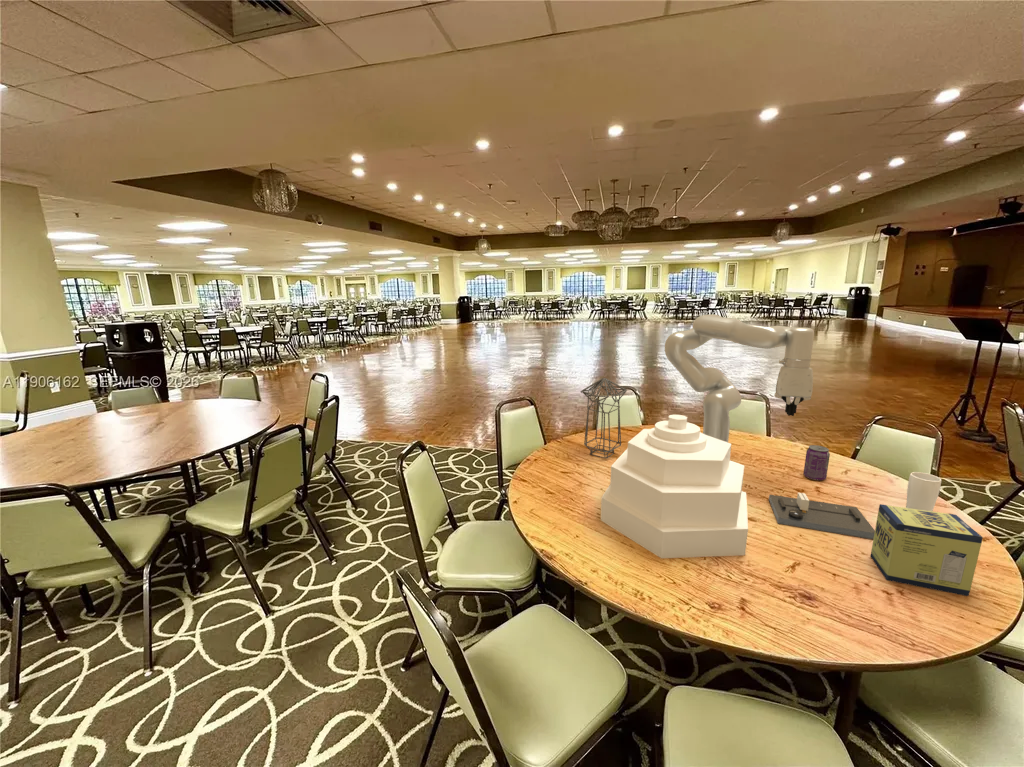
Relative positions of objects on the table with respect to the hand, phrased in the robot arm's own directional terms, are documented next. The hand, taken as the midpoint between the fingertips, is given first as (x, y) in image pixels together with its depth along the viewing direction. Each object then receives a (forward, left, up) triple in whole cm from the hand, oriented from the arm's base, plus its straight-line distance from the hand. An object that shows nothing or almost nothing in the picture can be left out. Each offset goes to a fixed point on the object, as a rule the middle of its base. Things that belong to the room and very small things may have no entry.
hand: (790, 414), depth 145 cm
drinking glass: (+33, -14, -27) cm, 45 cm away
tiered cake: (-36, -38, -28) cm, 59 cm away
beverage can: (+13, +12, -27) cm, 33 cm away
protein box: (+21, -45, -27) cm, 57 cm away
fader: (+2, -21, -25) cm, 32 cm away
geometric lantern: (-67, +7, -27) cm, 73 cm away
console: (+6, -22, -27) cm, 35 cm away
